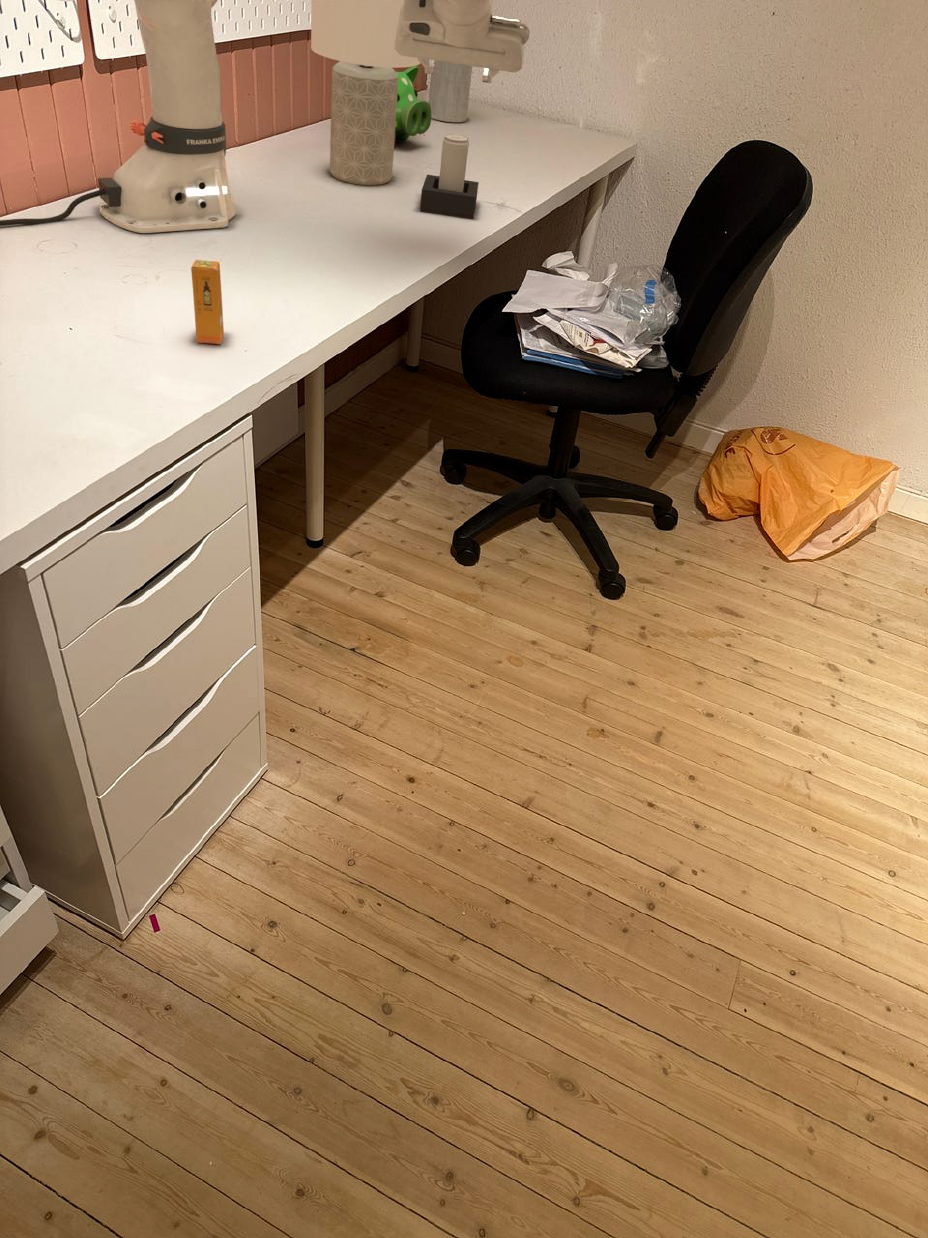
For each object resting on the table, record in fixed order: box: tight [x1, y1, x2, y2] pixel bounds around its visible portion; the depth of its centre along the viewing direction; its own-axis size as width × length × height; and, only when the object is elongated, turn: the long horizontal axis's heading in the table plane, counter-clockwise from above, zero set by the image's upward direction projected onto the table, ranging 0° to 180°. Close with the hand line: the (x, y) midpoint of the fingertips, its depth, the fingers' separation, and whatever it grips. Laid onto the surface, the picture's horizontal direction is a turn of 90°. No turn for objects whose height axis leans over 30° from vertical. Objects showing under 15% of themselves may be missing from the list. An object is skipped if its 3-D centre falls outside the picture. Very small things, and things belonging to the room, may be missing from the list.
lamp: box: [310, 0, 421, 186], centre depth 174 cm, size 21×21×42 cm
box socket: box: [419, 174, 479, 220], centre depth 177 cm, size 10×10×4 cm
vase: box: [427, 61, 473, 124], centre depth 226 cm, size 10×10×27 cm
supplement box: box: [190, 259, 225, 345], centre depth 120 cm, size 3×3×10 cm
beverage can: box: [438, 133, 470, 192], centre depth 175 cm, size 5×5×12 cm
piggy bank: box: [394, 65, 432, 143], centre depth 206 cm, size 14×18×15 cm
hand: (458, 74), depth 151 cm, fingers open, 8 cm apart
